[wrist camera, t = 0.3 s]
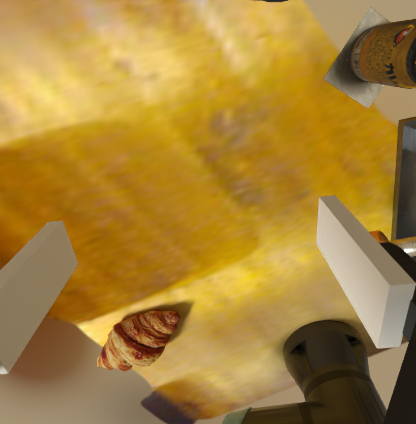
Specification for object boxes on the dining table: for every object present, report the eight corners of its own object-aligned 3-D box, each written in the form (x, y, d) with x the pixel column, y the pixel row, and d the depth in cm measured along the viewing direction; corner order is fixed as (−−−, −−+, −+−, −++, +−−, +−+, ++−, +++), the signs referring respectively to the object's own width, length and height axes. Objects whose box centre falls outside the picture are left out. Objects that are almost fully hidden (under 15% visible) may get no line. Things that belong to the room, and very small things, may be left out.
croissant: (117, 348, 65) (122, 389, 60) (75, 346, 58) (76, 391, 53) (189, 300, 59) (201, 341, 54) (151, 290, 51) (161, 337, 46)
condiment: (416, 42, 36) (504, 37, 25) (367, 108, 39) (425, 128, 29) (369, 7, 34) (441, -15, 24) (322, 78, 38) (366, 88, 27)
